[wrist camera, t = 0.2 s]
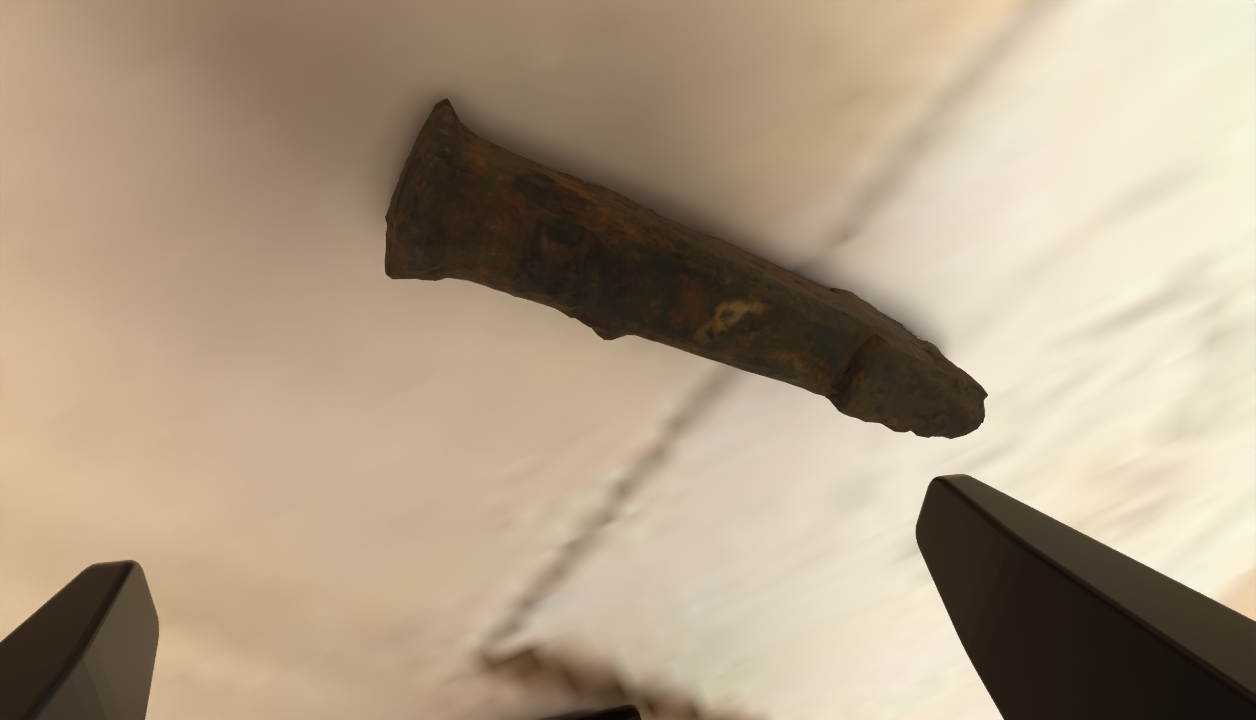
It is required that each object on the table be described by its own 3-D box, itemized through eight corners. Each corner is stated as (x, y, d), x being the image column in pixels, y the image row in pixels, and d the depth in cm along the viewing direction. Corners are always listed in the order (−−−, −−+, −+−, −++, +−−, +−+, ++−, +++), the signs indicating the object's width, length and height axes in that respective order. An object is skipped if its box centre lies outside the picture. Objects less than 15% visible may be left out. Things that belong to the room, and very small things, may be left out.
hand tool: (371, 221, 22) (364, 302, 18) (430, 81, 20) (435, 137, 16) (885, 421, 30) (956, 506, 26) (954, 331, 28) (1040, 408, 24)
